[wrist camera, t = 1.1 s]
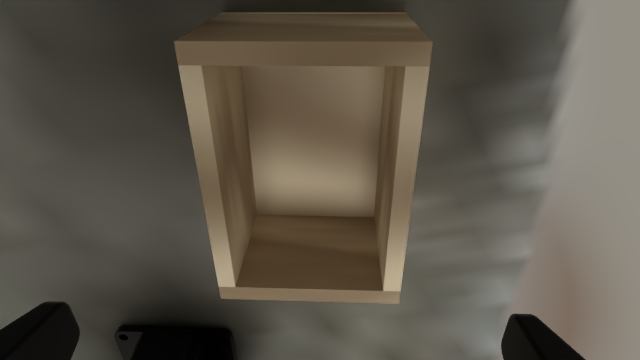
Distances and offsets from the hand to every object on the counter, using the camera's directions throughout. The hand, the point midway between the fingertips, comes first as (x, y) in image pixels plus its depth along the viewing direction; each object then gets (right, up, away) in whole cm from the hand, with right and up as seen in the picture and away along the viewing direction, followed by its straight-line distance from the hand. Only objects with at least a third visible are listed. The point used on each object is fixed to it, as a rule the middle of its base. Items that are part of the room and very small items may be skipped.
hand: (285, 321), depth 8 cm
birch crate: (+1, +5, +8) cm, 10 cm away
